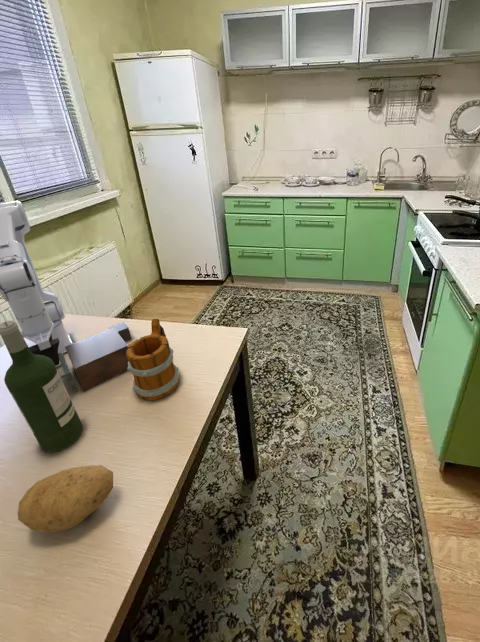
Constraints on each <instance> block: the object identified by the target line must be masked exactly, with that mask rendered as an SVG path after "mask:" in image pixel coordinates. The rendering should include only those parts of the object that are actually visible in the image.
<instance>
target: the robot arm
mask: <svg viewBox="0 0 480 642" xmlns="http://www.w3.org/2000/svg"><path fill="white" fill-rule="evenodd" d="M29 232H31V225H30V222H29V219H28V216H27V213H26V210H25V208H24V206H23V204H22V202H21V201H19V200H14V201H9V202H0V294H1V296H2V297H3V300H4V302H7V303H8V305H9V307H10V310H11V311H12V313H13V316H14V318H15V320H16V321H17V322H16V323H17V325H18V327H19V328H20V333H21V334H22V336H23V338H24V339H26V340H29V341H31V342H32V343H34V345H33V344H32V346H28V347H29V349H30V351H31V352H32V353H33V354H35V355H44V356H46V357H48V358H50V359H51V360H52V361H53V362H54V364H55V366H58V365H60V361H59V355H58V354H59V353H61V352H62V353H63V354H65V353H67V351H66V349H65V347H66V346H68V345H71V344H73V343H74V342H73V340H72V339H71V336H70V334H69V333H68V332H67V330H66V328H65V325H64V323H63V320H65V318H66V313H65V311H64V308H63V306H62V303H61V301H60V299H59V297H58V295H57V294H56V293H53V292H50V291H46V290H44V289H43V287H42V284H41V282H40V279H39V276H38V274H37V271H36V268H35V266H34V263H33V261H32V258H31V256H30V254H29V253H30V252H29V250H28V248H27V245H26V241H25V235H26V234H27V233H29Z"/></svg>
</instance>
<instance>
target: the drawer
mask: <svg viewBox="0 0 480 642" xmlns="http://www.w3.org/2000/svg"><path fill="white" fill-rule="evenodd" d="M58 355H59V365H56V368H57V370H59V369H62V371H63V374H62V375H60V377H61V379H62V380H64V379H66V380H67V383H68V385H69V387H70V390H71V392H72V393H74V392H76V391H78V389H79V388H78V386H77V384H76V381H75V379H74V377H73V375H72V372H71V369H70V367H69V365H68V363H67V360H66V357H65V356H64V353H62V352H61V353H59V354H58Z"/></svg>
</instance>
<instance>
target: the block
mask: <svg viewBox="0 0 480 642" xmlns="http://www.w3.org/2000/svg"><path fill="white" fill-rule="evenodd" d="M113 327H114V328H115V329H116V330H117V332H118V333H119V334H120V336H121V337H122V339H123V340H124V341H125V343H127V342H128V341H130V340H133V338H132V335H131V332H130V328H129V327H128V325H127V324H126V323H125V321H121V322H119V323H116V324H114V325H111V326H109V327H108V329H111V328H113Z"/></svg>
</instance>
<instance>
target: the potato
mask: <svg viewBox="0 0 480 642" xmlns="http://www.w3.org/2000/svg"><path fill="white" fill-rule="evenodd" d="M113 489H114V471H113V470H111V469H109V468H107V467H105V466H103V465H101V464H100V465H99V464H97V465H95V464H94V465H83V466H76V467H72V468H67V469H64V470H60V471H59V472H56V473H54V474H51V475H49V476H46V477H44V478H42V479H40V480H38V481H36V482H35V483H34V484H33V485H31V487H29V488H28V489H27V490H26V491H25V493H24V495H23V496H22V498H21V499H20V501H19V502H18V507H17V509H18V510H17V520H18V521H19V522H20V523H21V524H23V525H24V526H25V527H27V528H28V529H30V530H32V531H41V532H45V533H55V532H62V531H66V530H71V529H72V528H73V527H74V528H75V526H77V525H79V524H80V523H81V522H83V521H84V520H85V519H86V518H87V517H88V516H89V515H91V514H92V513H93V512H94V511H96V510H97V509H98V508H99V507H100V506H101V505H102V504H103V503H104V502H105V501H106V500H107V499H108V497H109V495H110V494H111V492H112V490H113Z"/></svg>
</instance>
